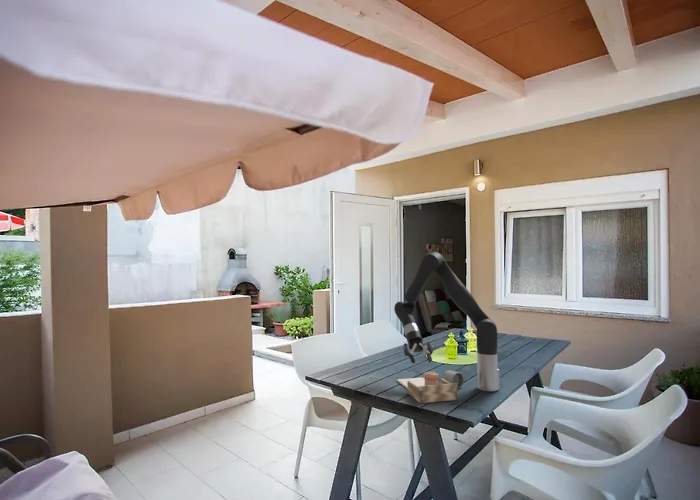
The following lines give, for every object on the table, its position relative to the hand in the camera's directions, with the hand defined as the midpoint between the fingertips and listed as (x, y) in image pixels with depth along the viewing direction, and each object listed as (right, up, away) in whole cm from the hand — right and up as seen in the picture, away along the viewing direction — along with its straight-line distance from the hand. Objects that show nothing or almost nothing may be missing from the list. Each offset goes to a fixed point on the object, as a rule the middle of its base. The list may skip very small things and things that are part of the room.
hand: (422, 362), depth 190 cm
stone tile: (-2, -13, +7) cm, 15 cm away
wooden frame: (+2, -13, -10) cm, 16 cm away
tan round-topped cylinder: (+2, -13, -10) cm, 16 cm away
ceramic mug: (+15, -13, +3) cm, 20 cm away
